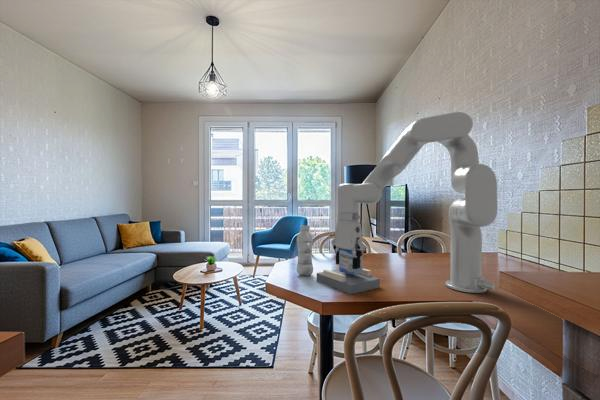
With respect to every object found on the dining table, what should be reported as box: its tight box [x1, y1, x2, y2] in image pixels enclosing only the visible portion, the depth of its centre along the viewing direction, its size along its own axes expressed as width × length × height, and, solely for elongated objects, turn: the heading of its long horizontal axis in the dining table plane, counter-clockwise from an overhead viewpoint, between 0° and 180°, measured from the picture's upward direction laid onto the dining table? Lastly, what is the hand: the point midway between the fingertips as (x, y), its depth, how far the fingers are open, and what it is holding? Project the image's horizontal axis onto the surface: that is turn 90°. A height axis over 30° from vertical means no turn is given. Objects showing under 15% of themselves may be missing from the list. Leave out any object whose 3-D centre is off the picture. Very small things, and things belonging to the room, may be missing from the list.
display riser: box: [316, 268, 381, 295], centre depth 103 cm, size 18×14×5 cm
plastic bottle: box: [296, 224, 314, 277], centre depth 115 cm, size 6×7×20 cm
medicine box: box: [338, 248, 364, 276], centre depth 104 cm, size 8×4×9 cm, turn 35°
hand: (347, 265), depth 103 cm, fingers closed on medicine box, 8 cm apart
